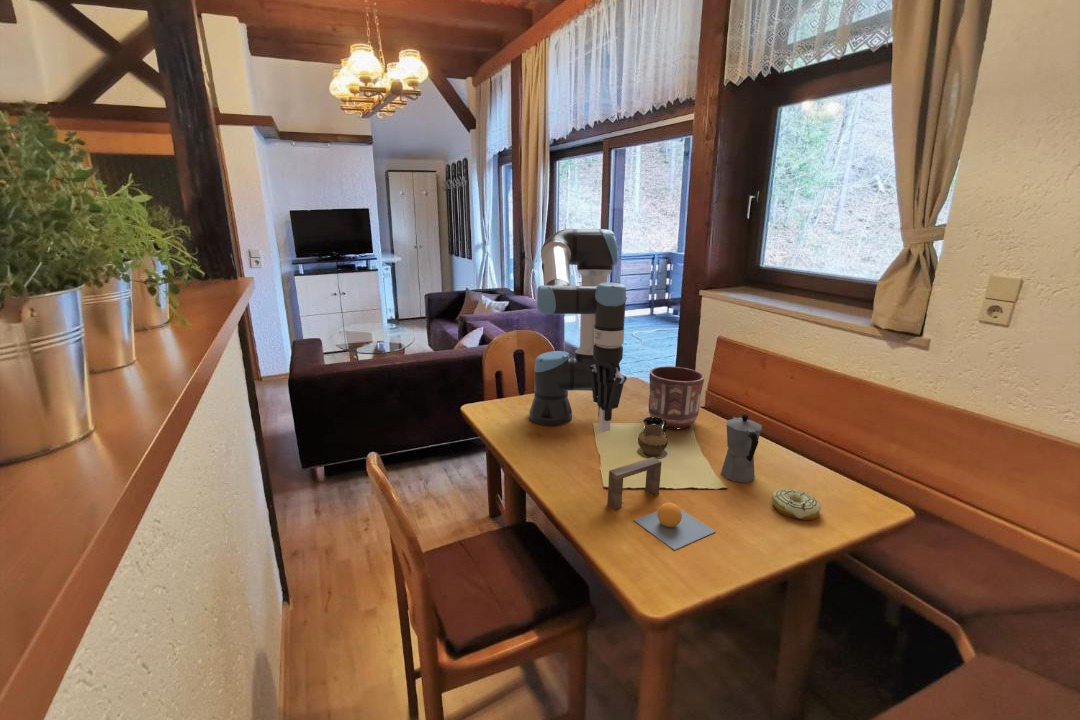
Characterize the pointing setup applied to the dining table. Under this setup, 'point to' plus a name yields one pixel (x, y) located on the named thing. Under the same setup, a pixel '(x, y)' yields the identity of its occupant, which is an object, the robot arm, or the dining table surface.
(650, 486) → the bridge
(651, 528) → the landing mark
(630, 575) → the dining table surface
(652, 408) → the pottery
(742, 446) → the coffeepot
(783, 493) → the decorated donut
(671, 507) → the ball
